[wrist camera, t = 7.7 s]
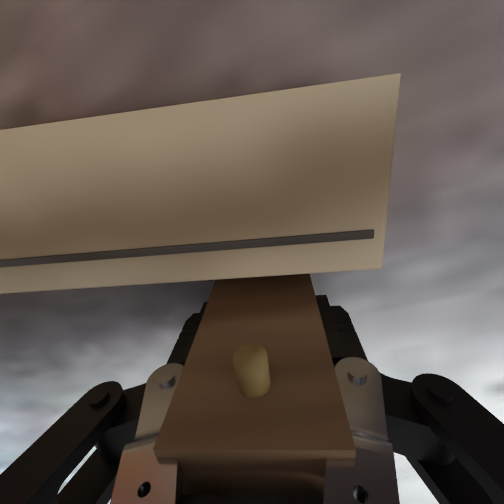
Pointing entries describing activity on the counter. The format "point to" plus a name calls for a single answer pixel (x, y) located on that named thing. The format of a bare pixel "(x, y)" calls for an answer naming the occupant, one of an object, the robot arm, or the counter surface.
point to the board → (201, 190)
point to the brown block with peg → (257, 396)
